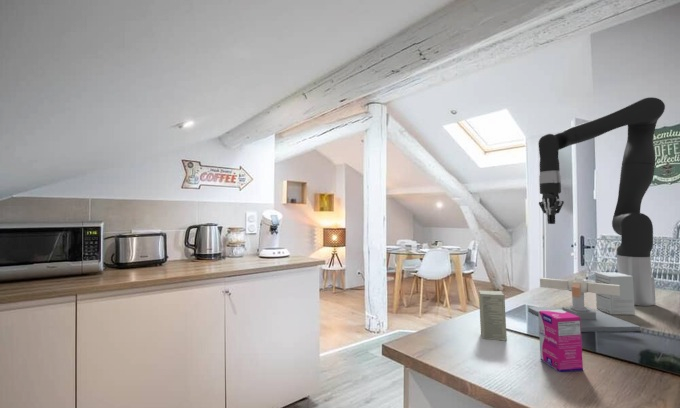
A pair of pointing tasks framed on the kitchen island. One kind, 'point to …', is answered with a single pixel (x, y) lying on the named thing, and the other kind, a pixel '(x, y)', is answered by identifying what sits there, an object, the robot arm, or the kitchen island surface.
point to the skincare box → (492, 315)
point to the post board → (597, 322)
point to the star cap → (580, 286)
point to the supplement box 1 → (560, 340)
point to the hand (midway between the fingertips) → (551, 223)
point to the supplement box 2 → (615, 302)
